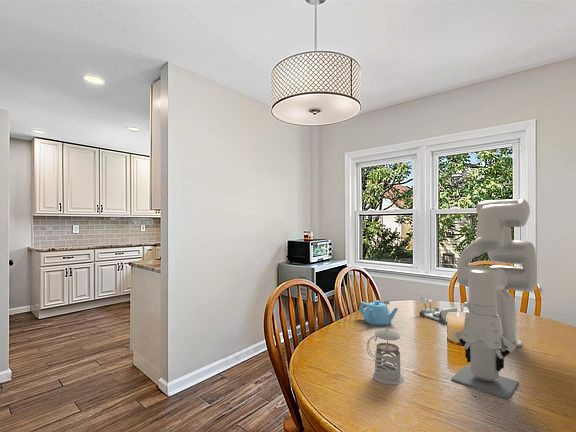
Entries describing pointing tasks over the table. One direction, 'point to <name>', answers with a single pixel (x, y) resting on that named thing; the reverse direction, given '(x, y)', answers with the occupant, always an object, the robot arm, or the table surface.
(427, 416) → the table surface
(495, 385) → the mat
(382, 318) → the teapot
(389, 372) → the french press
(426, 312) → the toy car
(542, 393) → the table surface
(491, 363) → the can
